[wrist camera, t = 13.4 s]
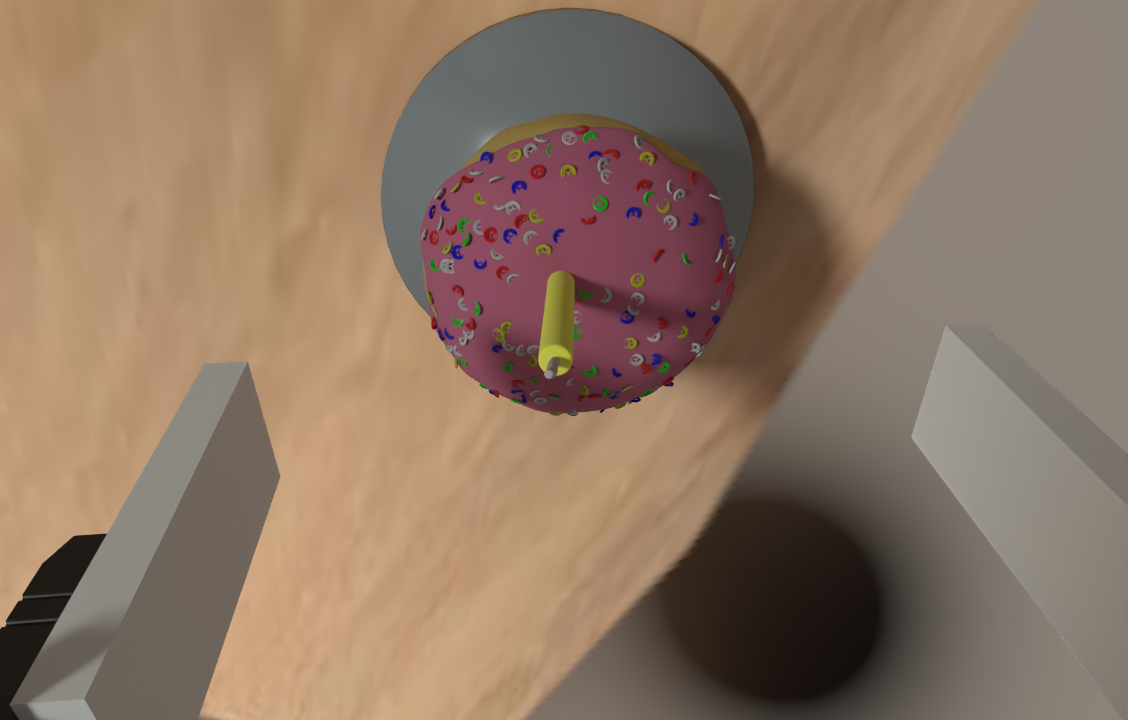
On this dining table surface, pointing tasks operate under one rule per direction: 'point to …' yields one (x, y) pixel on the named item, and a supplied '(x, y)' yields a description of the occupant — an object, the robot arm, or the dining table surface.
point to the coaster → (558, 111)
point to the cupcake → (576, 263)
